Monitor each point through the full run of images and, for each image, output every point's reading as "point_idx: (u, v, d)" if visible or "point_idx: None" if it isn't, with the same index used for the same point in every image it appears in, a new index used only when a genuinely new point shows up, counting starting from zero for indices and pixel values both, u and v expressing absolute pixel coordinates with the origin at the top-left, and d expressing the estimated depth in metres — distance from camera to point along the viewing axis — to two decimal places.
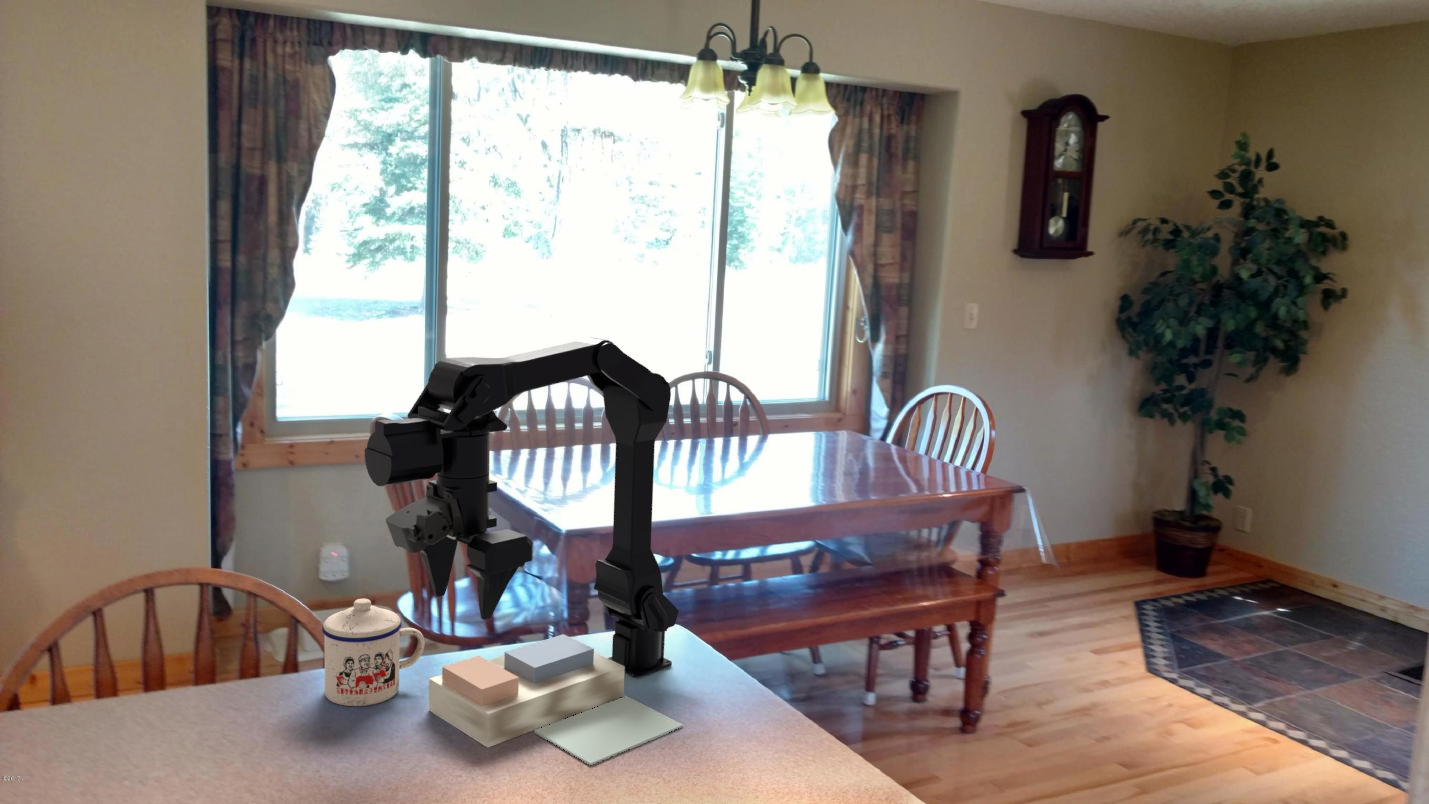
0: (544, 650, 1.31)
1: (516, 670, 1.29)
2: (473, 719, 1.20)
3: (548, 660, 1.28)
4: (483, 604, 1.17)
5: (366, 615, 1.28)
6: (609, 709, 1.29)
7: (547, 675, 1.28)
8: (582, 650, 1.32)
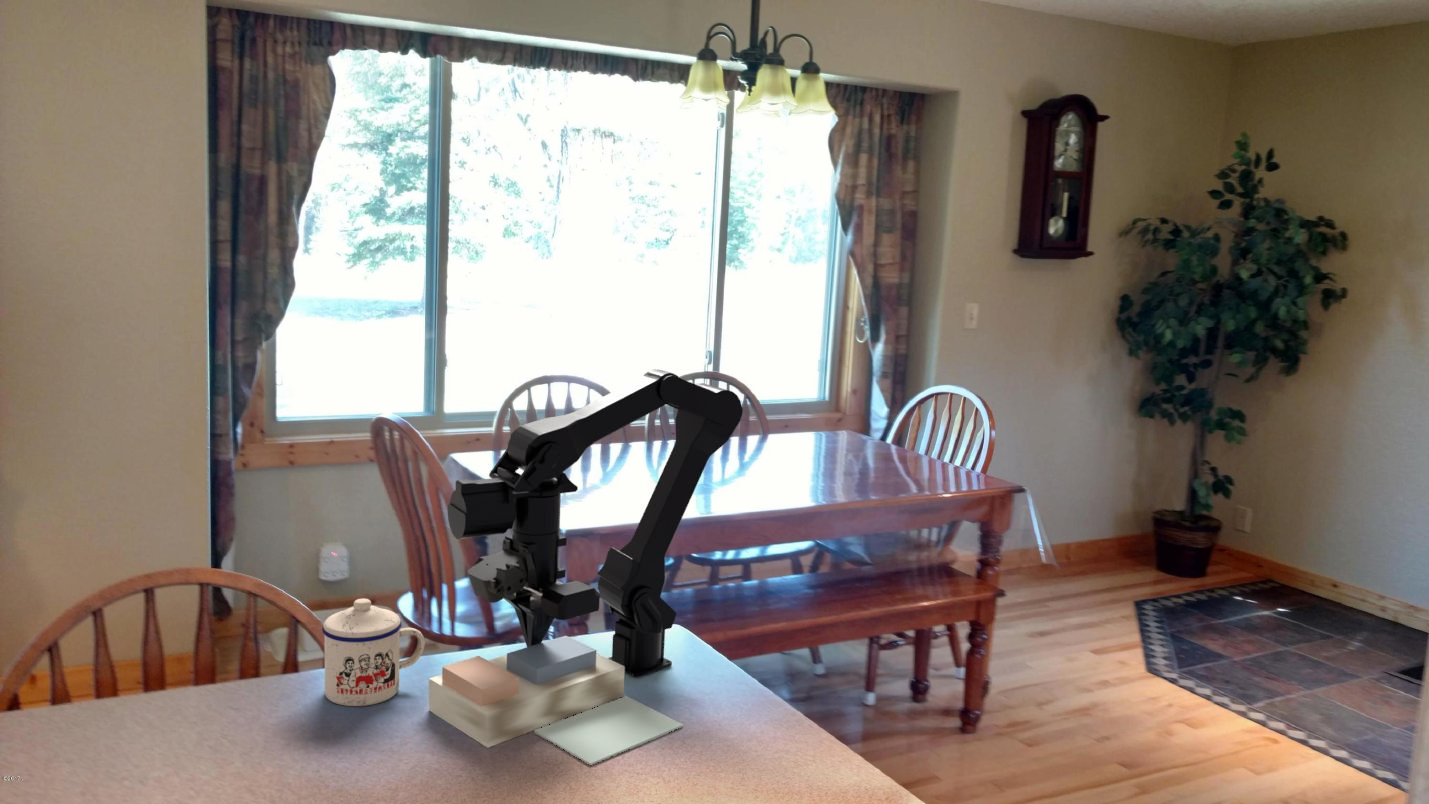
0: (546, 651, 1.31)
1: (518, 671, 1.28)
2: (473, 719, 1.20)
3: (550, 661, 1.28)
4: (531, 637, 1.32)
5: (366, 615, 1.28)
6: (609, 709, 1.29)
7: (550, 676, 1.27)
8: (585, 651, 1.31)
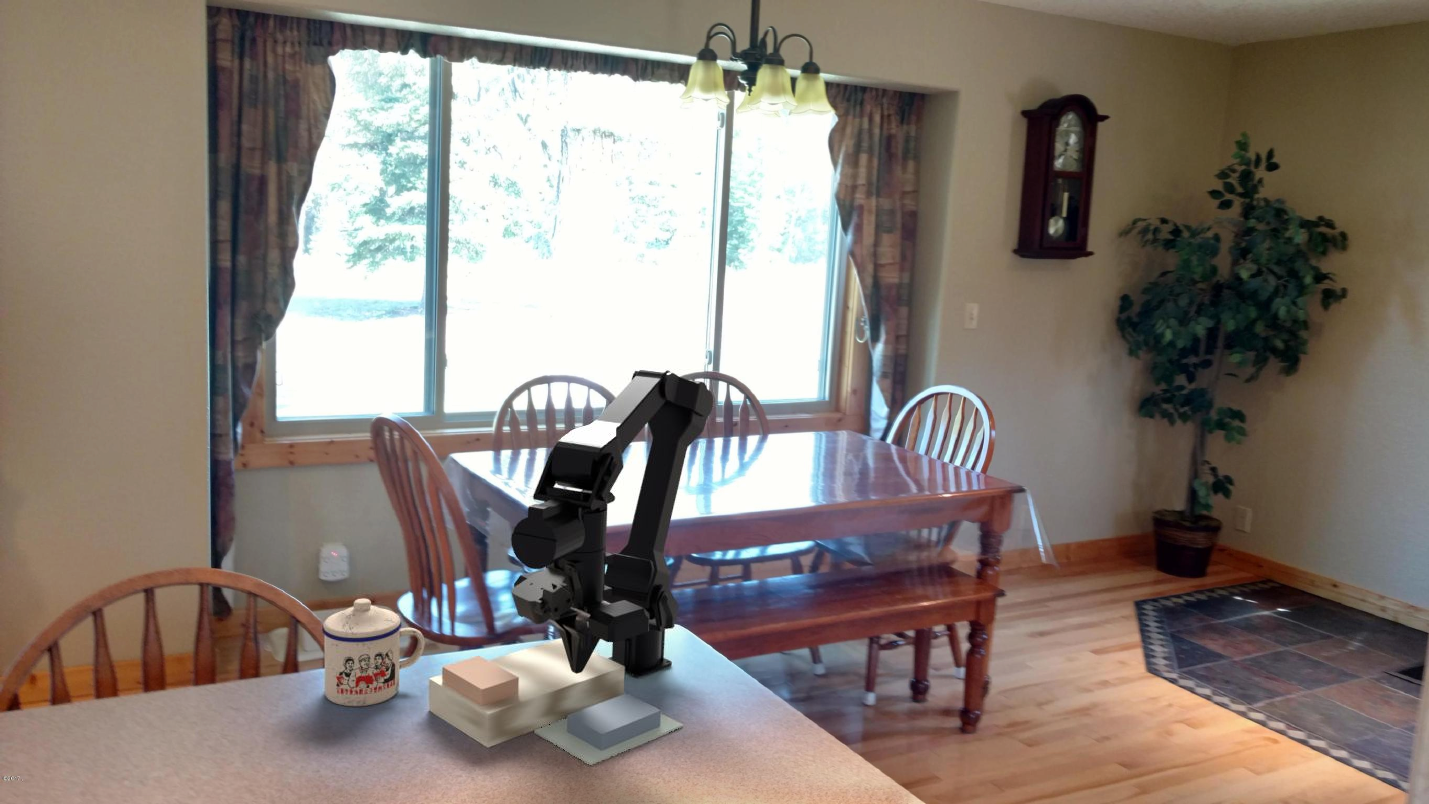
0: None
1: (587, 730, 1.20)
2: (473, 719, 1.20)
3: None
4: (576, 660, 1.26)
5: (366, 615, 1.28)
6: None
7: None
8: None
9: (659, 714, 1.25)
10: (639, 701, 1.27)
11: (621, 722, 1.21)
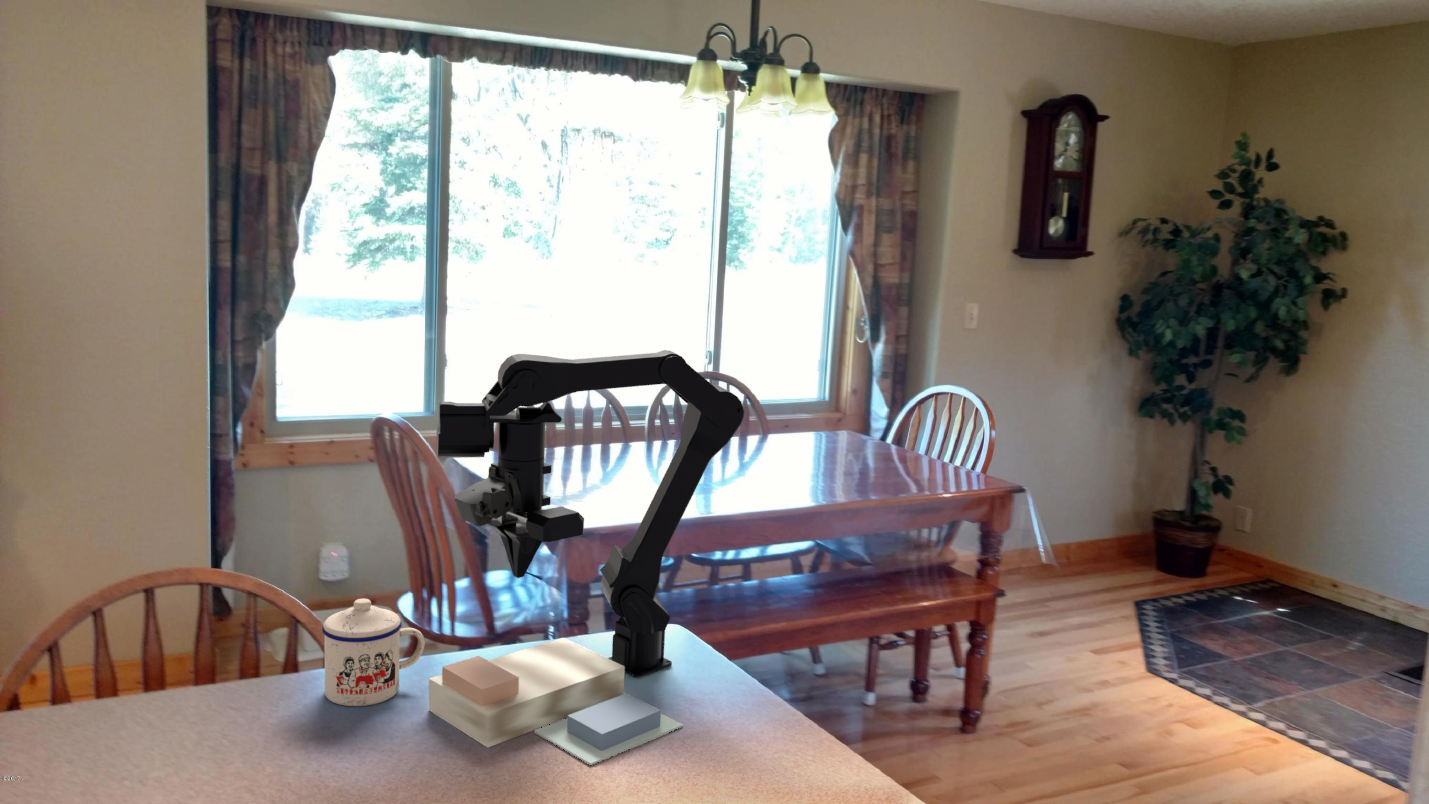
0: None
1: (587, 730, 1.20)
2: (473, 719, 1.20)
3: None
4: (517, 564, 1.35)
5: (366, 615, 1.28)
6: None
7: None
8: None
9: (659, 714, 1.25)
10: (639, 701, 1.27)
11: (621, 722, 1.21)
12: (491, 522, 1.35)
